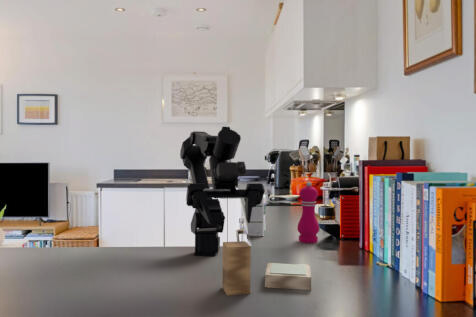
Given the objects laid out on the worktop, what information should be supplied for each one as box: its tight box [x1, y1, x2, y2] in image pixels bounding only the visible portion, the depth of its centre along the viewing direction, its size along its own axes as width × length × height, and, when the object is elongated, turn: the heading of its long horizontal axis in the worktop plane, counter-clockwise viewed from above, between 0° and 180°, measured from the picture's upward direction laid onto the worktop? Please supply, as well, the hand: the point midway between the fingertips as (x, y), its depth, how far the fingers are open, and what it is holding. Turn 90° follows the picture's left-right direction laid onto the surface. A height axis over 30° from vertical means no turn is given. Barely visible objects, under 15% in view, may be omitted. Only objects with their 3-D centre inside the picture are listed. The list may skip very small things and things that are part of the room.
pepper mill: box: [297, 181, 320, 244], centre depth 140 cm, size 7×7×20 cm
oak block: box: [221, 240, 252, 296], centre depth 90 cm, size 5×5×10 cm
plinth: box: [264, 262, 312, 291], centre depth 96 cm, size 10×10×3 cm
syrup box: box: [247, 193, 267, 237], centre depth 150 cm, size 6×6×14 cm
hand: (229, 222), depth 97 cm, fingers open, 9 cm apart
